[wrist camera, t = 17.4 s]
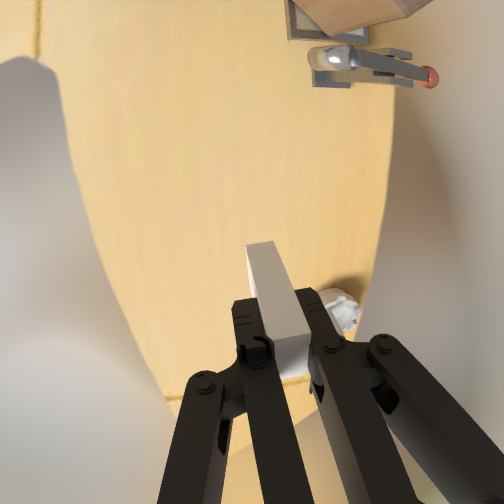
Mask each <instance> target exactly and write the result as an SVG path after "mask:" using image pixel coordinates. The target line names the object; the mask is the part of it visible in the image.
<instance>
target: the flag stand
mask: <svg viewBox="0 0 504 504" xmlns="http://www.w3.org/2000/svg"><path fill="white" fill-rule="evenodd" d="M317 293H318V294H319V296H320V298H321V300H322V303H323V304H324V306H325V309H326V310H327V312H328V314H329V316H330V318H331V320H332V322H333V324H334V326H335V329H336V331H337V332H338V334H340V335H341V336H343V337H345V336H344V334H343V333H344V332H345V331H346V330H348V331H350V332H351V331H352V330H353V329H354V328H355V327H356V326H357V322H356V319H357V317H359V316H361V309H360V307H359V305H358V304H357V302H356V300H355V299H354V298H353V297H352V296H351V295H349V294H346V293H345V292H344V291H343V290H341V289H338V288H328V289H324V290H322V291H319V292H317ZM345 339H346V338H345Z"/></svg>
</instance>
